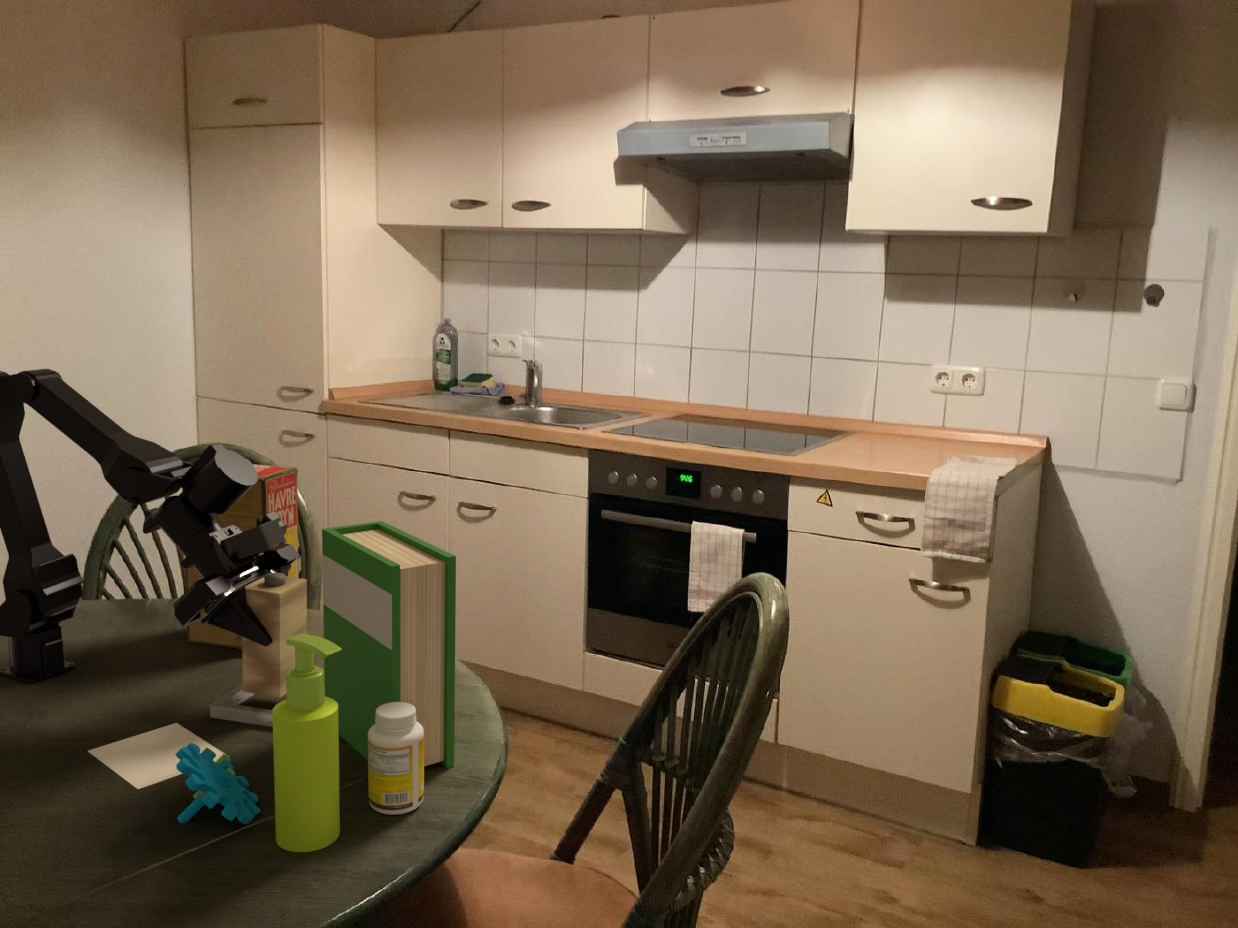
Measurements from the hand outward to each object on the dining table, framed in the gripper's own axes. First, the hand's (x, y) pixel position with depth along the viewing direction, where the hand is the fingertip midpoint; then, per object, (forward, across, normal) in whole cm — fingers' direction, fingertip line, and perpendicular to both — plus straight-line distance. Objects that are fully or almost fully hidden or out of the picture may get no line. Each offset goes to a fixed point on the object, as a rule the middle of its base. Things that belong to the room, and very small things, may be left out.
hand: (284, 634), depth 124 cm
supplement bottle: (+23, -17, -9) cm, 30 cm away
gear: (+12, -24, +2) cm, 27 cm away
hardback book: (+18, -5, -5) cm, 19 cm away
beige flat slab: (+2, -15, +11) cm, 19 cm away
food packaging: (-6, +20, +20) cm, 29 cm away
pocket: (+6, 0, +8) cm, 10 cm away
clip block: (+4, 0, +6) cm, 7 cm away
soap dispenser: (+19, -25, -6) cm, 32 cm away
